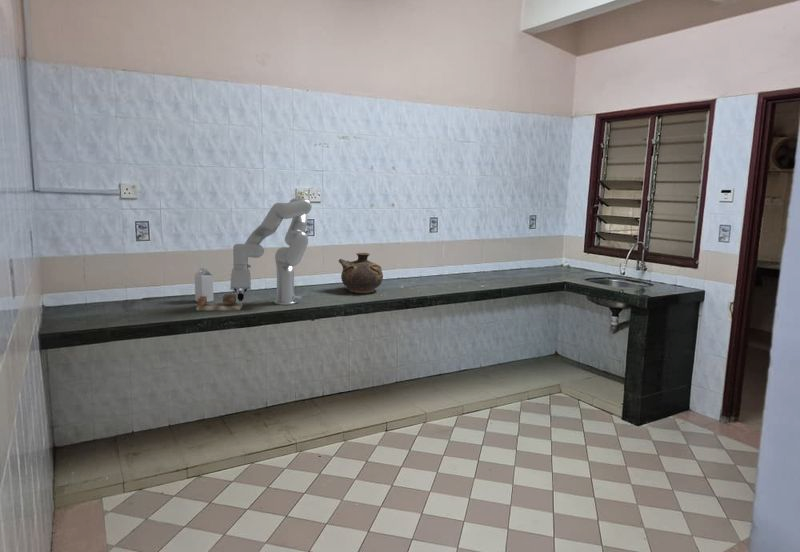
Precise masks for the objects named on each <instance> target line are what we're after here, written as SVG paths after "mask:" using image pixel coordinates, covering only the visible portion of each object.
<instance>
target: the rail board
mask: <svg viewBox="0 0 800 552" xmlns="http://www.w3.org/2000/svg"><path fill="white" fill-rule="evenodd" d="M242 307H243V302H236V303H235V305H223V302H207V296H201V297H200V298H199V299H198V302H197V306H196V311H240V310H241V309H242Z"/></svg>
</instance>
